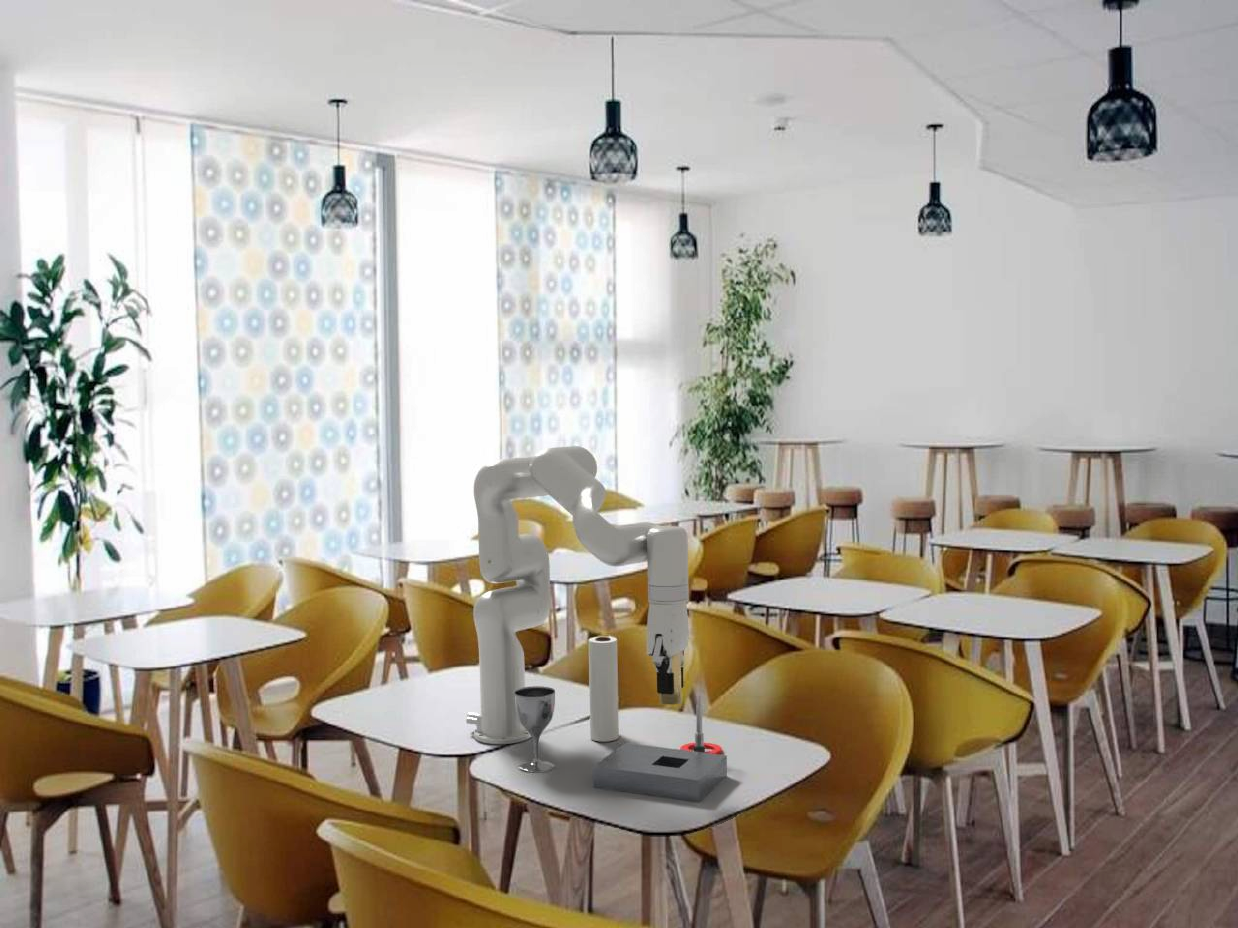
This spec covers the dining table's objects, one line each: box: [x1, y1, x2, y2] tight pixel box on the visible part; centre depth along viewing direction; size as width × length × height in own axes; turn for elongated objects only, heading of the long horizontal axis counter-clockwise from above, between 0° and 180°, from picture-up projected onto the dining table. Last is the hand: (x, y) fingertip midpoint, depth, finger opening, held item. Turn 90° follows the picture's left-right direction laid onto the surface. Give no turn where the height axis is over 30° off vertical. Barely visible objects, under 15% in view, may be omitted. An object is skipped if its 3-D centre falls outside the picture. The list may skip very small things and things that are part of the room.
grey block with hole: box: [592, 742, 728, 803], centre depth 222 cm, size 21×15×4 cm
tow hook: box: [679, 693, 723, 755], centre depth 239 cm, size 8×13×9 cm
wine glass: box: [514, 685, 556, 774], centre depth 231 cm, size 8×8×15 cm
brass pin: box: [659, 652, 682, 705], centre depth 220 cm, size 4×4×11 cm
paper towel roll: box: [588, 634, 620, 743], centre depth 249 cm, size 7×6×21 cm
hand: (670, 689), depth 220 cm, fingers closed on brass pin, 3 cm apart
